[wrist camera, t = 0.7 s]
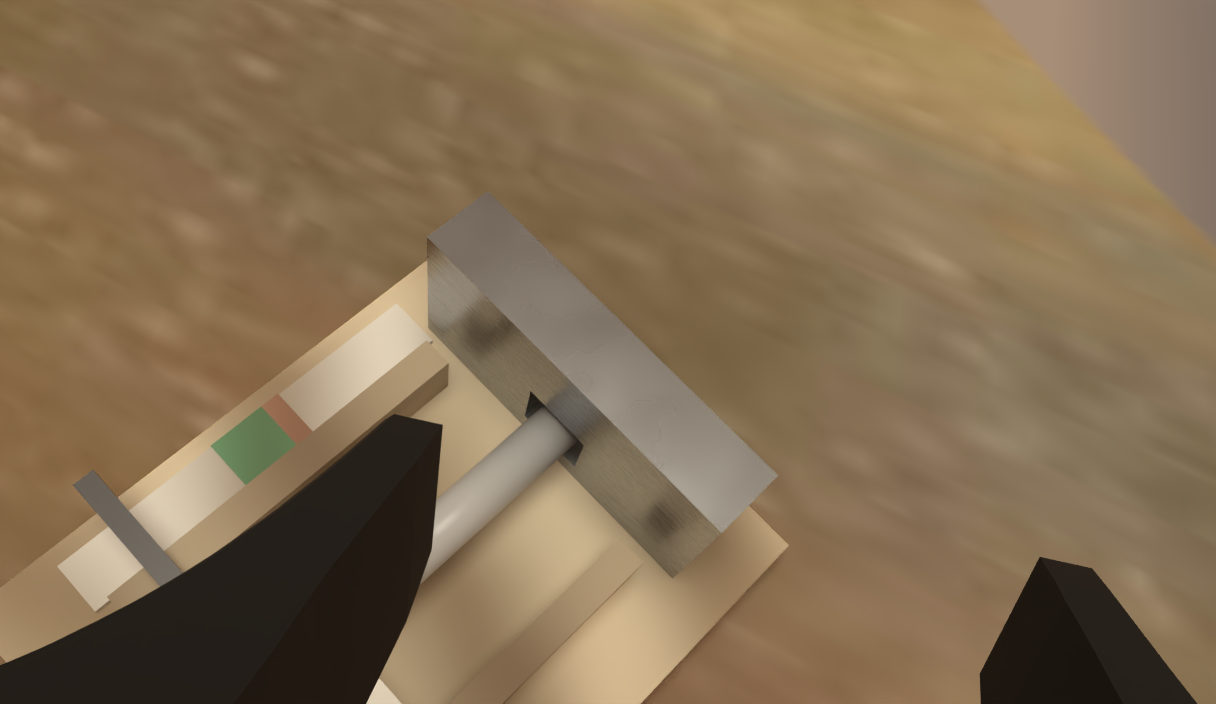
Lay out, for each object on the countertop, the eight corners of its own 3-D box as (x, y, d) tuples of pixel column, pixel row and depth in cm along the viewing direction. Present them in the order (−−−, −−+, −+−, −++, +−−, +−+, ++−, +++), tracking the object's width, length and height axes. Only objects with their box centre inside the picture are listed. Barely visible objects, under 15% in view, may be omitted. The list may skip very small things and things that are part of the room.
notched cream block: (262, 867, 23) (232, 879, 20) (17, 572, 24) (-50, 535, 21) (624, 517, 27) (652, 476, 24) (395, 282, 28) (390, 213, 25)
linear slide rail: (324, 1035, 23) (288, 1112, 17) (-14, 621, 25) (-144, 570, 19) (775, 555, 29) (859, 494, 23) (468, 248, 31) (475, 123, 25)
